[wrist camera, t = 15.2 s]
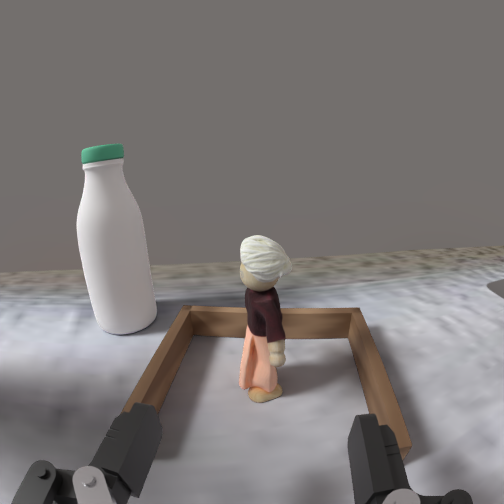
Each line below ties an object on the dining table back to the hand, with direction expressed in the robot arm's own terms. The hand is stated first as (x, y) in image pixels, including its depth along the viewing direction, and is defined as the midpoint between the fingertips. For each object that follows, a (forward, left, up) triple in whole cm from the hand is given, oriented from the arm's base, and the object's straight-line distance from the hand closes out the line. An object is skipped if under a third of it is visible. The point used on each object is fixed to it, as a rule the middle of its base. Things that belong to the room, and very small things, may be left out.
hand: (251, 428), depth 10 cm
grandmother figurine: (0, +10, -8) cm, 13 cm away
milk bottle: (-17, +20, -8) cm, 27 cm away
